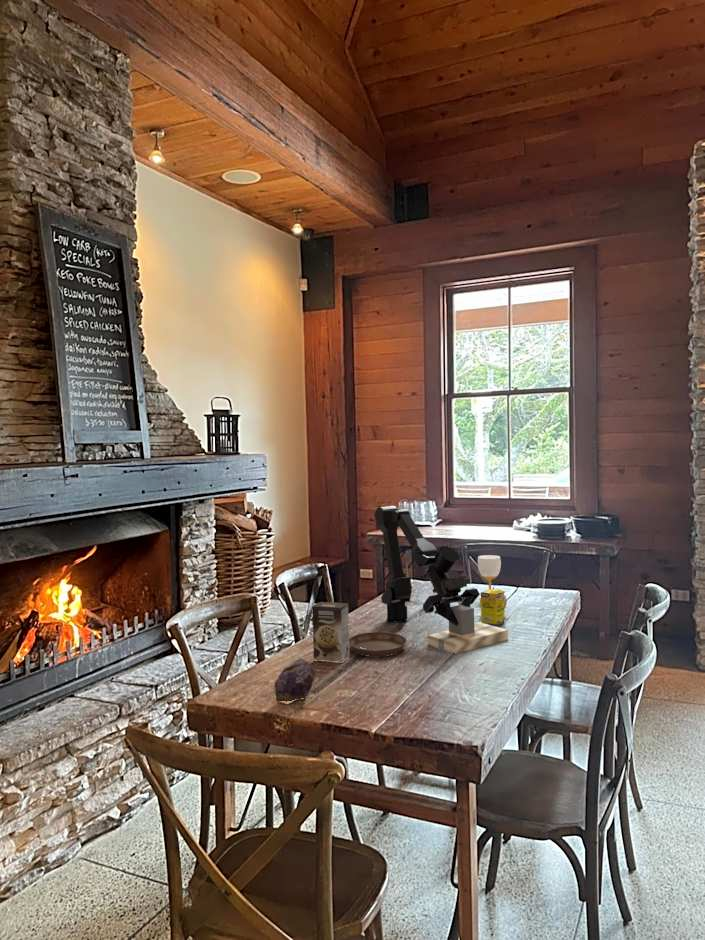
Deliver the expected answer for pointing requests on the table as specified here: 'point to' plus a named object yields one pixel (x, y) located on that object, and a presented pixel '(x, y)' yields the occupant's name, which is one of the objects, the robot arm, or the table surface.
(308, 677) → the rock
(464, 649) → the birch board
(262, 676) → the table surface
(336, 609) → the cookie box
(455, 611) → the block
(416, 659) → the table surface
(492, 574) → the cup
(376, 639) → the plant saucer
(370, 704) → the table surface
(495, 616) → the supplement box
